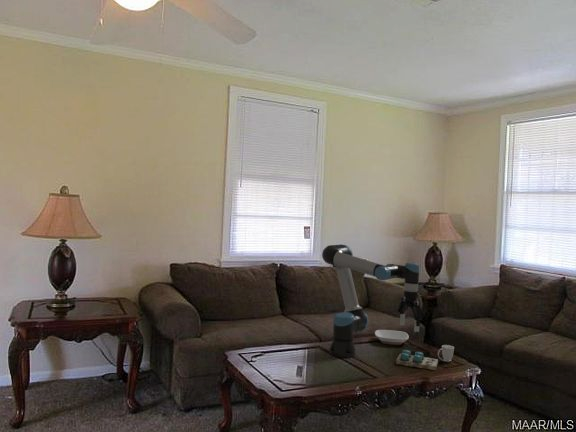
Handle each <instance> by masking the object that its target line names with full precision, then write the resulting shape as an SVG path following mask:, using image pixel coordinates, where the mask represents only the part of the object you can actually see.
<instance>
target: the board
mask: <svg viewBox="0 0 576 432" xmlns="http://www.w3.org/2000/svg"><path fill="white" fill-rule="evenodd" d="M413 357H414V355H413V354H410V357H409V360H408V361H403V360H401V353H399V355H398V356H397V358H396V360H395V364H396V365H401V366H407V367H412V368H413V367H415V368H420V369H425V370H431V371H436V370H437V367H438V364H439V358H432V357H425V356H423V359H422V362H421V363H416V362H414V361H413Z"/></svg>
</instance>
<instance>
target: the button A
mask: <svg viewBox="0 0 576 432" xmlns="http://www.w3.org/2000/svg"><path fill="white" fill-rule="evenodd" d="M400 354H401V360H403V361H408V360H409V354H407V353H403V352H400Z"/></svg>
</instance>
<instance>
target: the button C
mask: <svg viewBox="0 0 576 432" xmlns="http://www.w3.org/2000/svg"><path fill="white" fill-rule="evenodd" d="M413 356H414V357H413V361H414V362H416V363H421V362H422V356H420V355H415V354H414V355H413Z"/></svg>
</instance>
